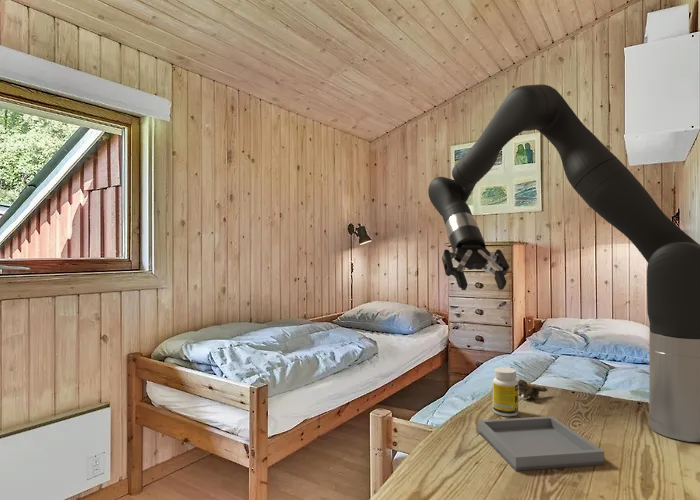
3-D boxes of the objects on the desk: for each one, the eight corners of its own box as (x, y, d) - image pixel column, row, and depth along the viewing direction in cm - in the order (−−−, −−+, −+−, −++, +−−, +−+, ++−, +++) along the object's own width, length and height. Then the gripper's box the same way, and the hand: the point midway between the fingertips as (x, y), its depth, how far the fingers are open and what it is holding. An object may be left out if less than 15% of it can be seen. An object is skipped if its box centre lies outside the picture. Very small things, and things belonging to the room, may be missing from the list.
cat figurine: (511, 397, 98) (514, 378, 98) (539, 399, 101) (542, 381, 101) (520, 401, 95) (523, 381, 95) (549, 403, 98) (552, 384, 98)
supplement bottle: (520, 417, 87) (519, 374, 87) (494, 416, 88) (494, 372, 88) (516, 408, 92) (516, 367, 92) (491, 407, 93) (491, 366, 93)
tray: (552, 427, 83) (552, 416, 83) (604, 464, 69) (604, 451, 69) (477, 431, 81) (477, 420, 81) (515, 470, 67) (515, 457, 67)
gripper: (439, 223, 107) (456, 276, 96) (497, 224, 109) (521, 276, 97) (432, 246, 112) (448, 299, 101) (487, 246, 114) (509, 297, 103)
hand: (484, 287), depth 99 cm, fingers open, 8 cm apart
